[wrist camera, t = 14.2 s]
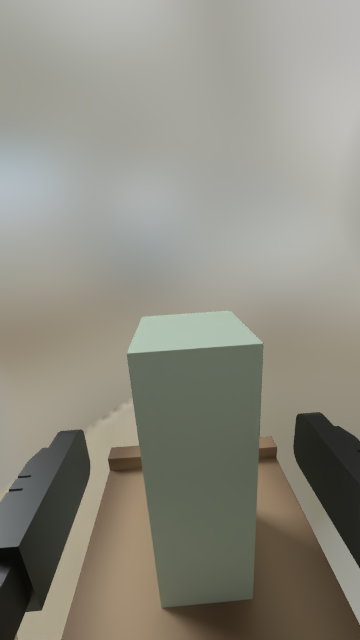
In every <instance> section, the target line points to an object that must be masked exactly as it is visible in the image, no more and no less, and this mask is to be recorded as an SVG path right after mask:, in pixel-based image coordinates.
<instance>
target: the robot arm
mask: <svg viewBox="0 0 360 640" xmlns="http://www.w3.org/2000/svg"><path fill="white" fill-rule="evenodd" d="M294 455H295V458H296V461H297V463H298V465H299V467H300V469H301V470H302V472H303V474H304V475H305V477H306V479H307V481H308V482H309V484H310V486H311V487H312V489H313V491H314V492H315V494H316V496H317V497H318V499H319V501H320V502H321V504H322V506H323V507H324V509H325V511H326V512H327V514H328V516H329V517H330V519H331V521H332V522H333V524H334V525H335V527H336V529H337V531H338V532H339V534H340V536H341V537H342V539H343V541H344V542H345V544H346V546H347V547H348V549H349V551H350V553H351V554H352V556H353V558H354V559H355V561H356V563H357V564H358V566H359V568H360V441H359V440H358V439H357V438H356V437H355V436H354V435H352V434H350V433H349V432H347V431H346V430H344V429H342V428H341V427H339V426H333V425H332V424H331V423H330V421H329V420H328V419H327V418H326V417H325V416H324V415H323V414H322V413H320V412H316V413H303V414H298V415H297V417H296V425H295V436H294ZM89 475H90V459H89V455H88V450H87V445H86V440H85V436H84V432H83V430H70V431H69V430H68V431H60V432H59V433H58V434H57V435H56V437H55V438H54V440H53V442H52V443H51V445H50V446H49V448H42V449H41V450H40V451H39V452H38V453H37V454H36V455H35V456H33V457H32V458H31V459H30V460H29V461H28V462H27V464H26V465H25V467H24V468H23V470H22V471H21V473H20V474H19V475H18V479H16V480H15V481H14V483H13V484H12V486H11V487H10V489H9V492H8V493H6V495H5V496H4V497H3V499H2V500H1V502H0V640H18V637H17V631H18V629H19V626H20V624H21V621H22V619H23V616H24V614H25V612H30V611H41V610H42V608H43V605H44V602H45V600H46V597H47V594H48V591H49V589H50V586H51V583H52V580H53V577H54V575H55V572H56V569H57V566H58V564H59V561H60V558H61V555H62V552H63V550H64V547H65V544H66V541H67V538H68V536H69V533H70V530H71V527H72V525H73V522H74V519H75V516H76V513H77V511H78V508H79V505H80V502H81V500H82V497H83V494H84V491H85V488H86V486H87V483H88V480H89Z"/></svg>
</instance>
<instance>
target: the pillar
mask: <svg viewBox="0 0 360 640" xmlns="http://www.w3.org/2000/svg"><path fill="white" fill-rule="evenodd" d="M127 358H128V366H129V373H130V380H131V388H132V395H133V403H134V410H135V418H136V425H137V432H138V440H139V447H140V454H141V462H142V469H143V477H144V484H145V491H146V499H147V506H148V513H149V521H150V528H151V536H152V543H153V550H154V558H155V565H156V573H157V580H158V587H159V595H160V602H161V608H166V607H176V606H186V605H197V604H207V603H217V602H227V601H237V600H247V599H253V582H254V558H255V534H256V510H257V486H258V461H259V437H260V413H261V412H260V411H261V388H262V365H263V343H262V342H261V341H260V340H259V339H258V338H257V337H256V336H255V335H254V334H253V333H252V332H251V331H250V330H249V329H248V328H247V327H246V326H245V325H244V324H243V323H242V322H241V321H240V320H239V319H238V318H237V317H236V316H235V315H234V314H233V313H232V312H231V311H219V312H204V313H190V314H177V315H163V316H148V317H142V319H141V321H140V324H139V326H138V328H137V331H136V333H135V335H134V338H133V340H132V343H131V345H130V347H129V350H128V352H127Z"/></svg>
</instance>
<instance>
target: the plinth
mask: <svg viewBox="0 0 360 640" xmlns="http://www.w3.org/2000/svg"><path fill="white" fill-rule="evenodd" d="M276 455H277V446H276V444H275V442H274V440H273V438H272V436H268V437H259V461H258V486H257V510H256V534H255V558H254V582H253V599H247V600H237V601H227V602H217V603H207V604H197V605H186V606H176V607H166V608H161V602H160V595H159V587H158V580H157V573H156V565H155V558H154V550H153V543H152V536H151V528H150V521H149V513H148V506H147V499H146V491H145V484H144V477H143V469H142V462H141V454H140V447H139V446H129V447H115V448H111V451H110V454H109V458H108V462H109V467H110V472H109V476H108V479H107V483H106V486H105V490H104V493H103V496H102V500H101V503H100V507H99V510H98V514H97V517H96V521H95V524H94V528H93V531H92V535H91V538H90V542H89V545H88V549H87V552H86V556H85V559H84V562H83V566H82V569H81V573H80V576H79V580H78V583H77V587H76V590H75V594H74V597H73V601H72V604H71V608H70V611H69V615H68V618H67V622H66V625H65V628H64V632H63V635H62V639H61V640H360V625H359V623H358V621H357V619H356V617H355V615H354V613H353V611H352V609H351V607H350V605H349V603H348V601H347V599H346V597H345V595H344V593H343V591H342V588H341V586H340V584H339V582H338V580H337V579H336V576H335V574H334V572H333V571H332V568H331V566H330V565H329V563H328V561H327V558H326V557H325V554H324V552H323V551H322V548H321V546H320V544H319V543H318V541H317V538H316V537H315V534H314V532H313V530H312V529H311V526H310V524H309V522H308V520H307V519H306V516H305V514H304V512H303V511H302V508H301V507H300V505H299V503H298V500H297V498H296V496H295V494H294V492H293V490H292V488H291V486H290V485H289V482H288V480H287V479H286V476H285V474H284V472H283V471H282V468H281V467H280V465H279V462H278V460H277V458H276Z"/></svg>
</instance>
